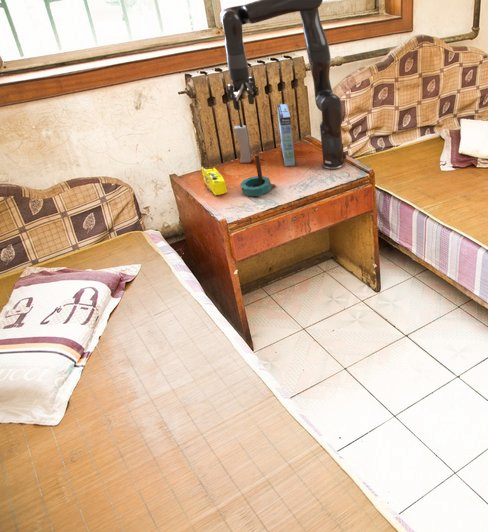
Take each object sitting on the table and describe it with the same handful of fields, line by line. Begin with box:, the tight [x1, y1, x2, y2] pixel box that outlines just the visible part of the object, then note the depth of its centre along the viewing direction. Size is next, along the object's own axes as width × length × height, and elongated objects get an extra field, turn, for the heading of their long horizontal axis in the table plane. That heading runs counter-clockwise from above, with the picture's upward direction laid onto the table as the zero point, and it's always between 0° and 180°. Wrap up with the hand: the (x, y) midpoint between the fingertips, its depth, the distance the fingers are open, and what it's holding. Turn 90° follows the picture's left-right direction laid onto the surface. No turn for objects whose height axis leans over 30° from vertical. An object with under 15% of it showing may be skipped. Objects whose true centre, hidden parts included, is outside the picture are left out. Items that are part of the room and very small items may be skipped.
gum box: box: [276, 103, 296, 167], centre depth 252 cm, size 20×5×23 cm, turn 13°
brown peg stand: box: [251, 153, 276, 191], centre depth 227 cm, size 8×8×15 cm
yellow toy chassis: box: [201, 166, 228, 196], centre depth 229 cm, size 16×6×8 cm, turn 32°
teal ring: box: [240, 175, 272, 197], centre depth 227 cm, size 12×12×3 cm
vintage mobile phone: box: [233, 110, 252, 164], centre depth 249 cm, size 4×5×25 cm
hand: (244, 106), depth 221 cm, fingers open, 8 cm apart
